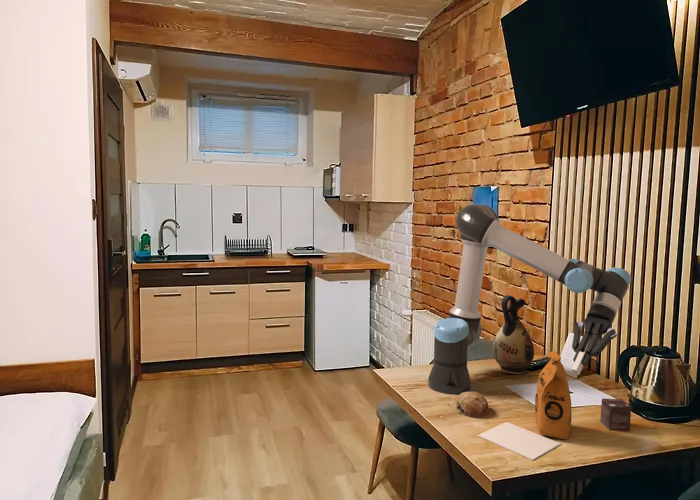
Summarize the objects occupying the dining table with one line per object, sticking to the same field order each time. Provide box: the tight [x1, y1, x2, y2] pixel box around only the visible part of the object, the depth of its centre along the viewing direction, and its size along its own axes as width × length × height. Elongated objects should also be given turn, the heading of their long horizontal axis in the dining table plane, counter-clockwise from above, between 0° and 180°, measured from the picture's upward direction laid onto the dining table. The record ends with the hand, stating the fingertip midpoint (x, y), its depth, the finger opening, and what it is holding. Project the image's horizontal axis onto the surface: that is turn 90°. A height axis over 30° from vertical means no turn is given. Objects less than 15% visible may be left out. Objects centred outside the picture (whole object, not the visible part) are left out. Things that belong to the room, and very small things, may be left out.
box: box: [599, 398, 632, 431], centre depth 152 cm, size 6×6×7 cm
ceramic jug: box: [492, 295, 535, 375], centre depth 198 cm, size 17×15×30 cm
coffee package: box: [534, 350, 573, 440], centre depth 147 cm, size 10×12×22 cm
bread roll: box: [455, 391, 489, 418], centre depth 161 cm, size 10×10×8 cm
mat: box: [477, 421, 561, 461], centre depth 142 cm, size 17×14×1 cm
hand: (575, 372), depth 153 cm, fingers closed
